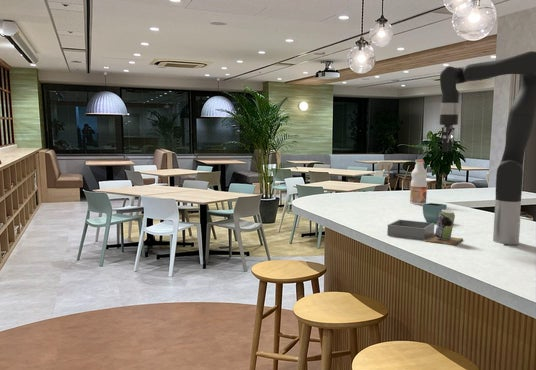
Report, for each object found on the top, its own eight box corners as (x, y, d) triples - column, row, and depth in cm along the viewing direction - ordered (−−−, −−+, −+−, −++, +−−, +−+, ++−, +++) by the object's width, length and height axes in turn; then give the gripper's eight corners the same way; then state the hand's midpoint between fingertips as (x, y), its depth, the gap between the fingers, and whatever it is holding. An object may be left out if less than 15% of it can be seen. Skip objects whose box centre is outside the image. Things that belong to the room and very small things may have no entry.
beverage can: (438, 236, 199) (439, 208, 198) (456, 239, 194) (457, 210, 193) (432, 239, 194) (433, 209, 193) (450, 241, 189) (452, 211, 188)
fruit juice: (408, 204, 294) (410, 159, 292) (424, 204, 293) (426, 159, 291) (411, 206, 285) (413, 160, 282) (427, 207, 284) (429, 160, 281)
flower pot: (429, 220, 241) (430, 202, 240) (446, 222, 235) (447, 204, 234) (421, 222, 235) (421, 204, 234) (438, 224, 229) (439, 206, 228)
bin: (434, 233, 208) (434, 223, 208) (424, 239, 195) (424, 228, 195) (398, 229, 217) (399, 219, 216) (387, 235, 204) (387, 224, 203)
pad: (462, 239, 196) (462, 238, 196) (456, 245, 186) (456, 244, 186) (432, 236, 202) (432, 235, 202) (425, 241, 192) (425, 240, 192)
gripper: (454, 113, 199) (452, 152, 201) (461, 114, 211) (459, 151, 213) (436, 113, 203) (434, 151, 205) (443, 114, 215) (441, 150, 217)
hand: (447, 151), depth 209 cm, fingers open, 8 cm apart
